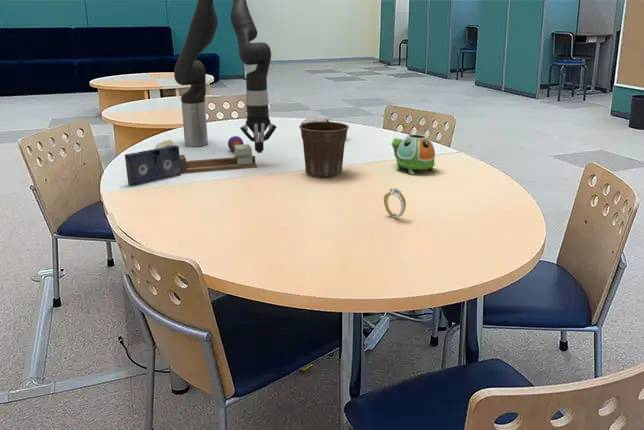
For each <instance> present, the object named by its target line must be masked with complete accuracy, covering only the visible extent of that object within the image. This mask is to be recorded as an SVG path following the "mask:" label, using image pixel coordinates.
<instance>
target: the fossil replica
mask: <svg viewBox="0 0 644 430" xmlns="http://www.w3.org/2000/svg"><path fill="white" fill-rule="evenodd" d="M169 146H177V145H176V144H175V143H174V142H173V141H172V140H171V139H168V140H167V139H166V140H164V141H162V142H159V143H157V144H156V145H155V147H154V149H159V148H164V147H169Z"/></svg>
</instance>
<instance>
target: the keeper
mask: <svg viewBox="0 0 644 430" xmlns="http://www.w3.org/2000/svg"><path fill="white" fill-rule="evenodd" d="M234 148H235V152H234V157H237V164H238V165H239V164H251V163H252V156H253V148H252V146H251V145H250V144H247V143H246V144H243V145H234Z"/></svg>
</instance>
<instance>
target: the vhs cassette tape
mask: <svg viewBox="0 0 644 430" xmlns="http://www.w3.org/2000/svg"><path fill="white" fill-rule="evenodd" d="M180 155H181V154H180V147H179V145H176V146H169V147H164V148H159V149H155V148H154V149H153V148H152V149H148V150H147V149H146V150H142V151H138V152H132V153H127V154H124V161H125V168H126V169H125V170H126V177H127V184H128V186H132V187H135V186H140V185H144V184H149V183H152V182H157V181H162V180H165V179H170V178H174V177H178V176H182V174H181V169H180V168H181V166H180V157H179V156H180Z"/></svg>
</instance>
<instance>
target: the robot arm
mask: <svg viewBox="0 0 644 430" xmlns="http://www.w3.org/2000/svg"><path fill="white" fill-rule="evenodd" d="M218 20H219V19H218V16H217V13H216V10H215V6H214V0H197V3H196V6H195V9H194V13H193V16H192V18H191V21H190V25H189V29H188V32H187V36H186V38H185V41H184V44H183V46H182V49H181V52H180V54H179V56H178V58H177V61H176V63H175V66H174V70H173V71H174V72H173V74H174V75H173V76H174V80H175V82H176V84H178V85H179V86H190V87H189V89H188V90H187V91H186V92H184V93H183V94H181V96H180V101H181V102H180V103H181V111H182V112H181V113H182V114H181V115H182V125H183V126H182V127H183V137H184V139H183V140H184V145H185V146H186V147H190V148H191V147H192V148H193V147H203V146H207V145H208V144H209V141H208V140H209V138H208V127H207V112H206V95H207V89H206V88H207V82H206V69H205V66H204V64H203V62H202V61H200V60H197V57H198V56H199V55H200V54H201V53H202V52H203V51H204V50H205V49H206V48H208V46H209V45H210V44H211V43H212V41H213V40H214V37H215V35H216V31H217V29H218V23H219V22H218ZM230 21H231V25H232V27H233V30H234V32H235V35H236V38H237V44H238V45H237V46H238V54H239V55H238V56H239V59H240V61H241V62H242V63H243V64H245V65H247V66H252V65H256V67H255V69H254V70H252V71H249V72H248V73H246V75H245V84H246V85H245V86H246V89H245V91H246V95H245V99H246V100H245V101H246V102H245V103H246V121H245V124H244V125H243V126H240V130H241V131H242V132H243V134H244V135H245V136H246V137H247V138H248V139H249V141H250V142H254V150H255V152H256V153H257V154H262V153H263V152H264V148H265V147H264V142H265V141H268V140H269V139H270V138H271V137H272V135H273V134H274V132H275V130H276V129H277V126H276V125H275V124H273V123H272V122H271V119H270V112H269V102H270V101H269V95H268V93H269V92H268V80H267V79H268V75H269V74H268V72H269V69H270V63H271V59H272V51H271V48H270V46H269V44H267V42H252V41H254V40H255V39H256V38H257V36H258V30H257V27H256V25H255V22H254V20H253V18H252V15H251V12H250V9H249V6H248V3H247V0H232V7H231V12H230ZM249 129H250V131H251V132H252V133H253V136H252V135H251V133H249ZM267 129H268V130H267ZM266 130H267V131H266ZM265 132H266V133H265Z"/></svg>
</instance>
